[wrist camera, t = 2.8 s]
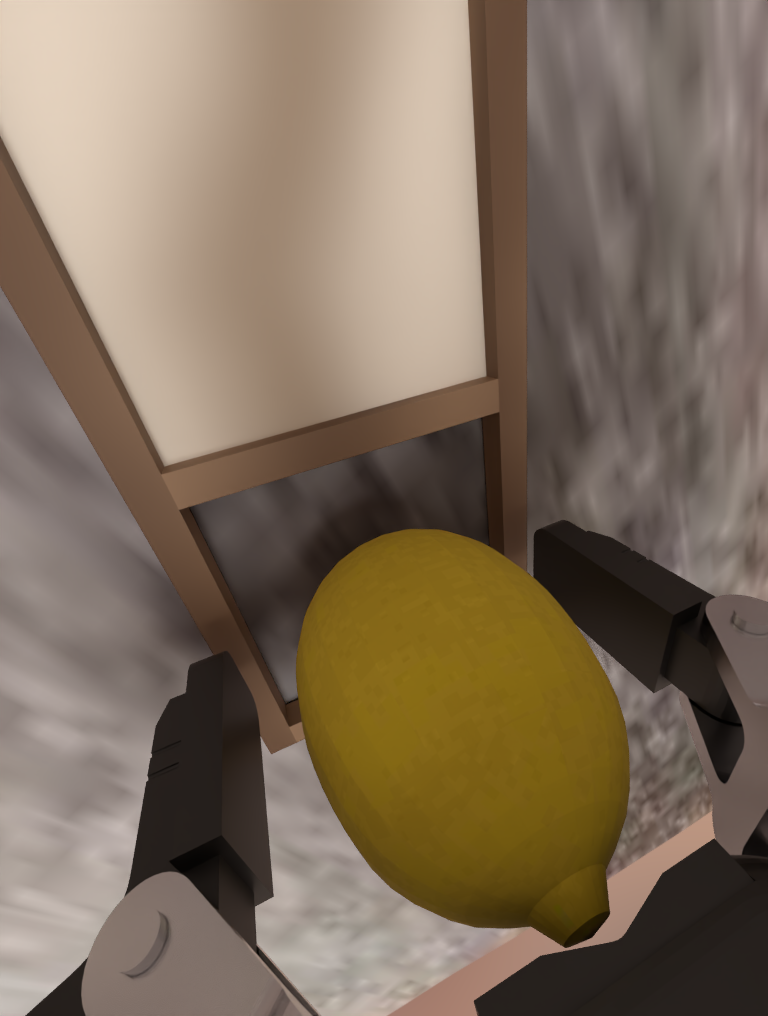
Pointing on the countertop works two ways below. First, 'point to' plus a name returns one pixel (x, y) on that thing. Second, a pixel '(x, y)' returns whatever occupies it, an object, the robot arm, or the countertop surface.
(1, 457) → the countertop surface
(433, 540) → the lemon
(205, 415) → the board
